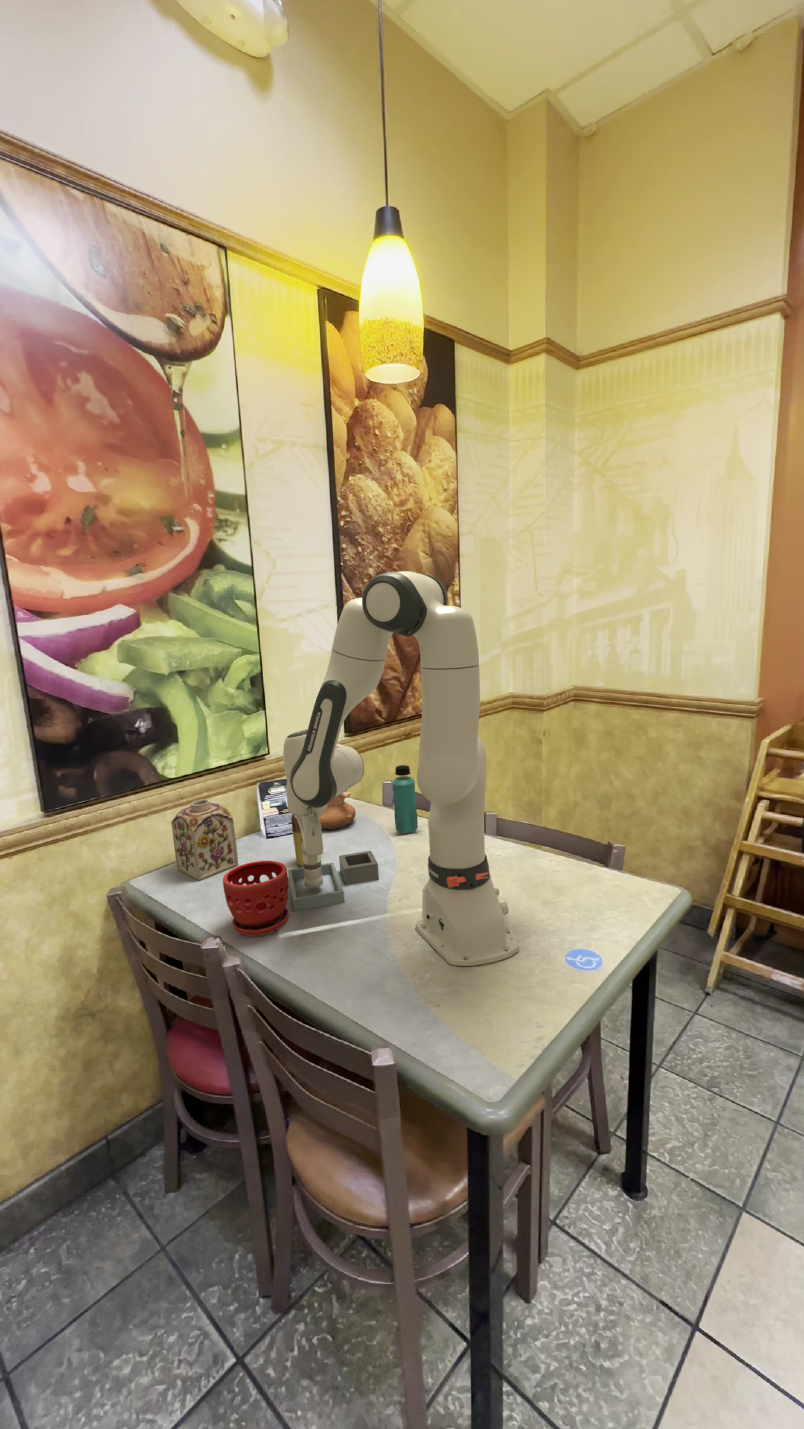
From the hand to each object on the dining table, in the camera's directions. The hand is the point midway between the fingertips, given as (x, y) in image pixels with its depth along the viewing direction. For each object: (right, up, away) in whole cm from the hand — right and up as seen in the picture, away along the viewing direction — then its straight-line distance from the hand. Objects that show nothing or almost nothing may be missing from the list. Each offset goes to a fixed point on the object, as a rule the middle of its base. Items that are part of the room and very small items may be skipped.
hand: (312, 858), depth 139 cm
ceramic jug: (-1, 0, +46) cm, 46 cm away
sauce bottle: (-3, -6, +17) cm, 18 cm away
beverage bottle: (+22, -1, +34) cm, 41 cm away
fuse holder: (+10, -7, +8) cm, 15 cm away
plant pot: (-9, -12, -10) cm, 18 cm away
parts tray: (+1, -9, +2) cm, 9 cm away
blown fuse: (0, -6, +1) cm, 6 cm away
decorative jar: (-30, -7, +20) cm, 37 cm away
